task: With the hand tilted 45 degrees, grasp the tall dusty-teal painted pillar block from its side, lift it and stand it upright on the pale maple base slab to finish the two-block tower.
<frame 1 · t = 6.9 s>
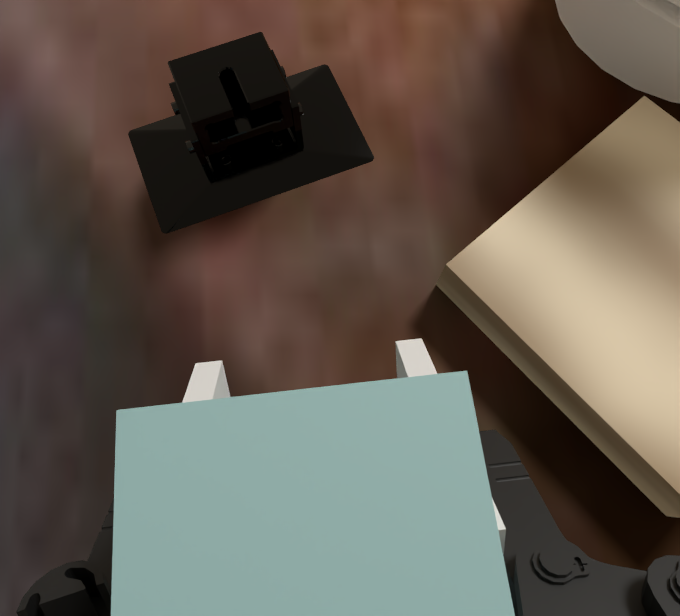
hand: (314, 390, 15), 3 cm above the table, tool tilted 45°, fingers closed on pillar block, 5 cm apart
base slab: (631, 302, 20), on the table
black boxy piece: (251, 155, 22), on the table
pillar block: (330, 515, 17), on the table, touching gripper
when the fingers open (7 cm above the table, at t = 11.4 s): pillar block drops 2 cm, point 2 cm above the table.
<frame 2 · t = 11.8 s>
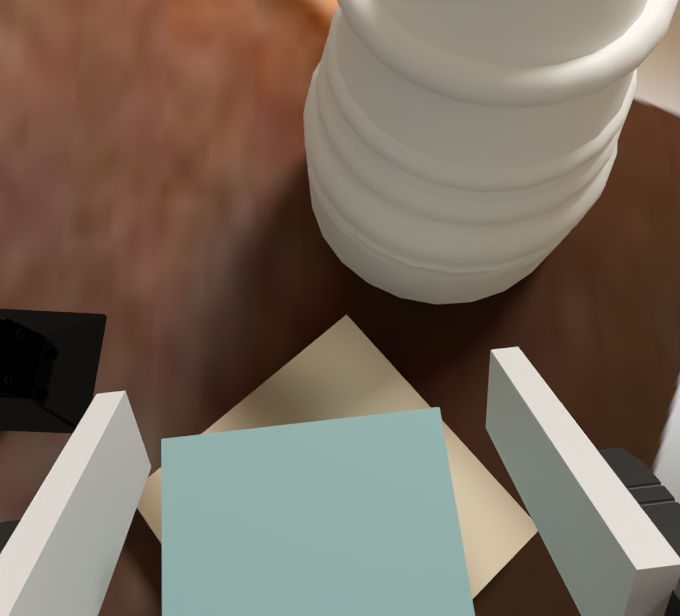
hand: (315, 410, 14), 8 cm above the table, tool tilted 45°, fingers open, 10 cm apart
base slab: (332, 506, 21), on the table
black boxy piece: (6, 369, 23), on the table
pillar block: (331, 514, 19), point 2 cm above the table
honey pot: (435, 187, 26), on the table
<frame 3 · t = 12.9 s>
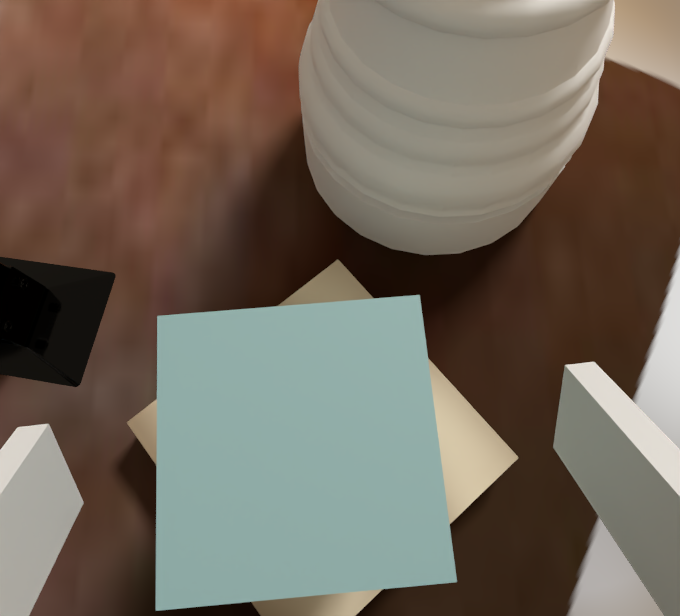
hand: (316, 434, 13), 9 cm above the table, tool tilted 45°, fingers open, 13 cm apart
base slab: (322, 443, 22), on the table
black boxy piece: (10, 317, 24), on the table
pillar block: (319, 438, 20), point 2 cm above the table
honey pot: (426, 145, 26), on the table
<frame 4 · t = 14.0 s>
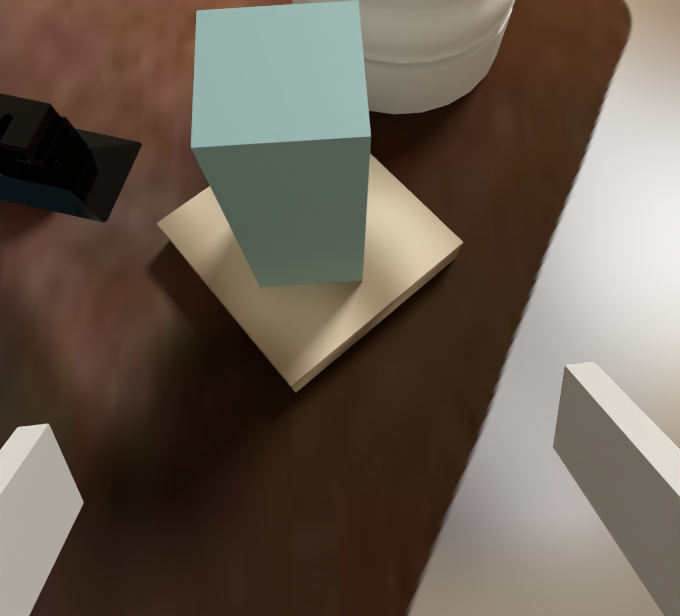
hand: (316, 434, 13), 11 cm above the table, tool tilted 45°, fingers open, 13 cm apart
base slab: (311, 253, 28), on the table, touching pillar block
black boxy piece: (57, 173, 30), on the table
pillar block: (309, 237, 25), point 2 cm above the table, touching base slab
honey pot: (396, 34, 32), on the table
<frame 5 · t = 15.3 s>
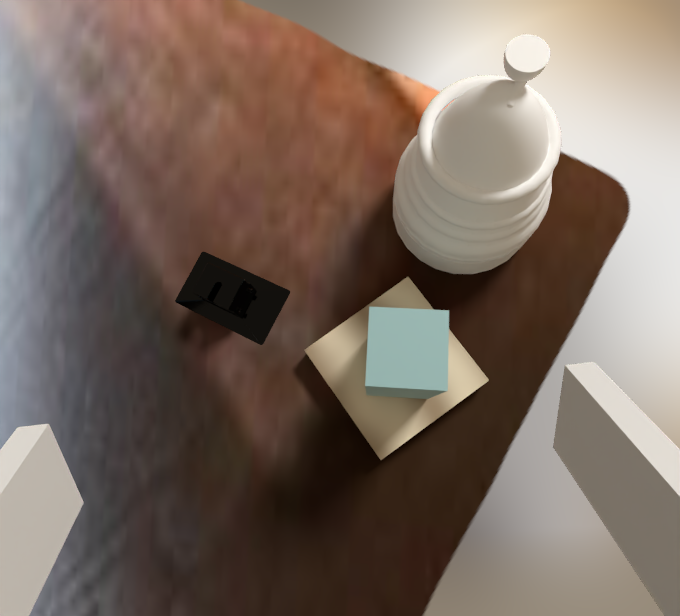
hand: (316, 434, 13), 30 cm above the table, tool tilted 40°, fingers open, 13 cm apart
base slab: (393, 367, 44), on the table
black boxy piece: (233, 298, 47), on the table
pillar block: (397, 366, 42), point 2 cm above the table
honey pot: (461, 209, 47), on the table
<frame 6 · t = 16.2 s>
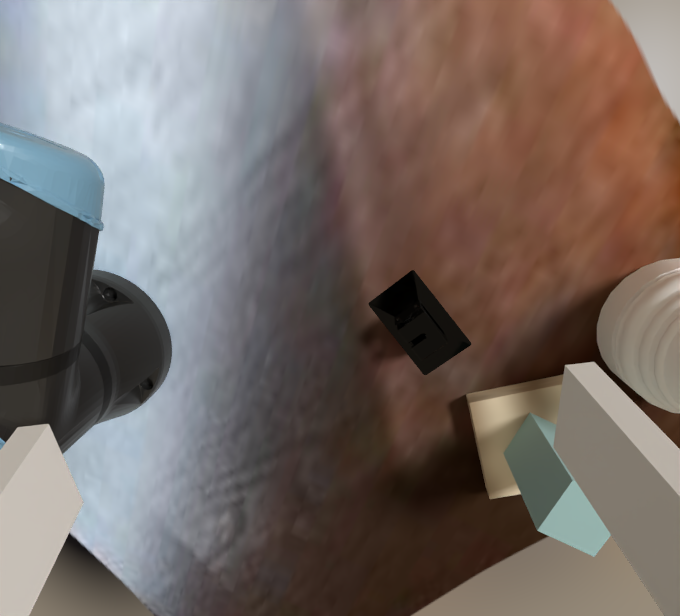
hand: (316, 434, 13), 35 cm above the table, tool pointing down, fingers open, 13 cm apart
base slab: (528, 428, 51), on the table, touching pillar block
black boxy piece: (418, 321, 49), on the table
pillar block: (539, 443, 49), point 2 cm above the table, touching base slab
honey pot: (666, 325, 47), on the table
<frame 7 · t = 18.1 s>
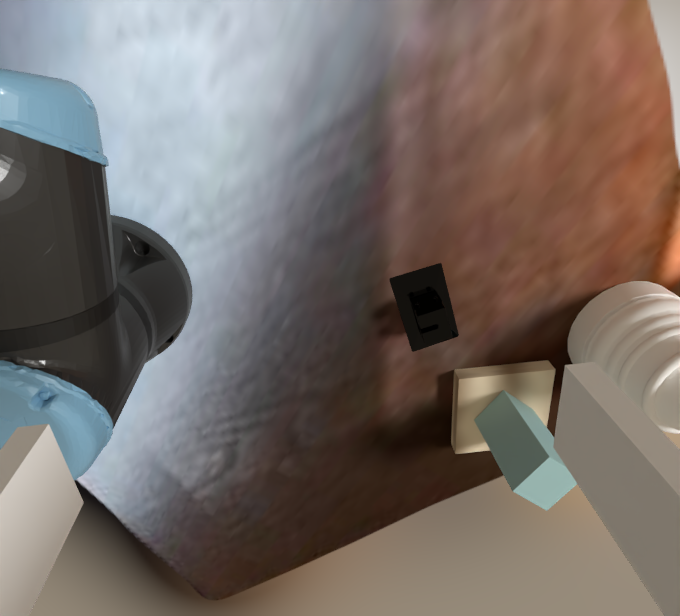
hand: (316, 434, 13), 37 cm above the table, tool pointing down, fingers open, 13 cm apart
base slab: (495, 400, 60), on the table, touching pillar block
black boxy piece: (424, 306, 54), on the table
pillar block: (503, 414, 58), point 2 cm above the table, touching base slab
honey pot: (621, 331, 57), on the table
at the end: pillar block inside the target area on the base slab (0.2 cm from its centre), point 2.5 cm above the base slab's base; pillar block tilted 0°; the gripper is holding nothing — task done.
